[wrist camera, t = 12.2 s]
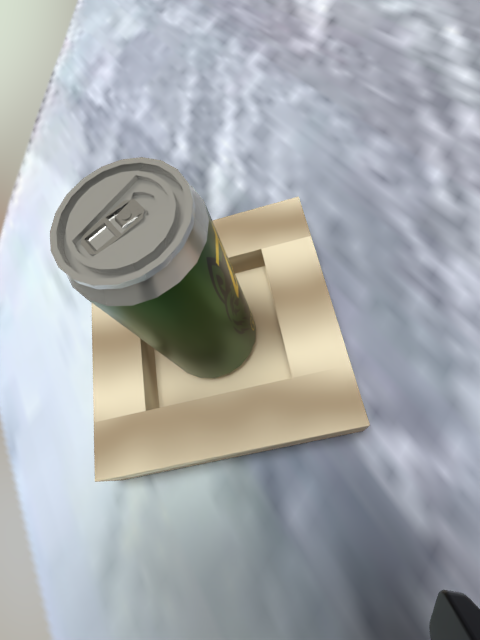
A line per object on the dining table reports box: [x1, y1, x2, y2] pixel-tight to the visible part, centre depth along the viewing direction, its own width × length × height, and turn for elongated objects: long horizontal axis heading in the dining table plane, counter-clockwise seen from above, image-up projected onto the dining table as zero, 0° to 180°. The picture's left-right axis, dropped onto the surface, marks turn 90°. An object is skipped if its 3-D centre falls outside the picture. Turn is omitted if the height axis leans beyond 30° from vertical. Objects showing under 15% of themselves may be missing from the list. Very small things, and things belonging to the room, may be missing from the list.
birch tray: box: [92, 197, 370, 482], centre depth 23 cm, size 14×14×4 cm
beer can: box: [50, 157, 256, 378], centre depth 17 cm, size 5×5×12 cm
